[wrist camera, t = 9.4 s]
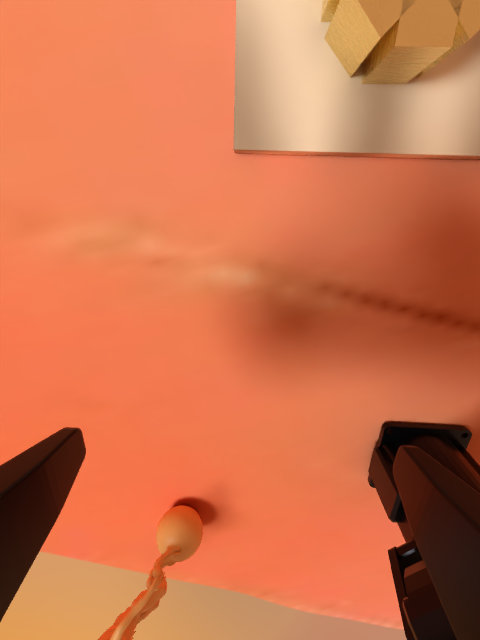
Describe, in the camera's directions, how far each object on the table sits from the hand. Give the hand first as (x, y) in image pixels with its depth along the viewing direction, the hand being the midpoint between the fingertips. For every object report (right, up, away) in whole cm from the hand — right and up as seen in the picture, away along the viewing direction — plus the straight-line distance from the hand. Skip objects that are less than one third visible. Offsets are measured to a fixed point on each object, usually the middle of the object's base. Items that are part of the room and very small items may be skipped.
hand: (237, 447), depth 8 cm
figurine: (-6, -14, +19) cm, 24 cm away
